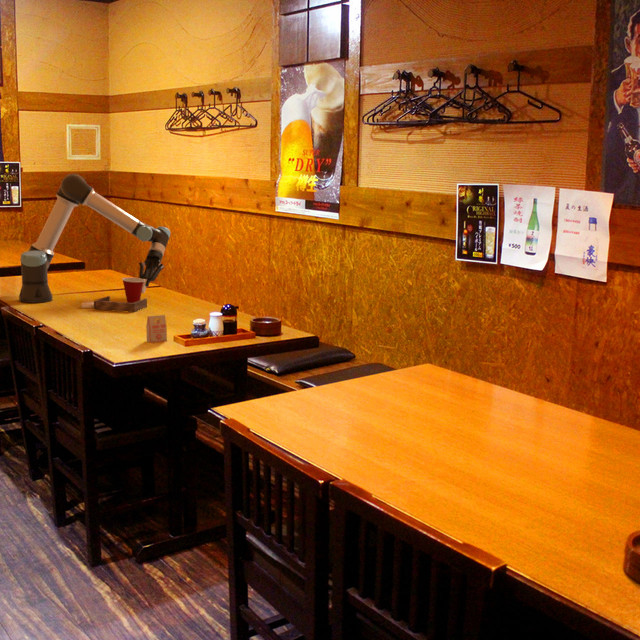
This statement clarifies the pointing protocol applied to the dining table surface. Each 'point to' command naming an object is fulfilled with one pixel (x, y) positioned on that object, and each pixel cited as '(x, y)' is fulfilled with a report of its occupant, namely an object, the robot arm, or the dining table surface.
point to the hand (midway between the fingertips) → (142, 291)
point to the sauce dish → (87, 305)
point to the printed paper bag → (156, 329)
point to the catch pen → (119, 305)
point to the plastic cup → (133, 288)
